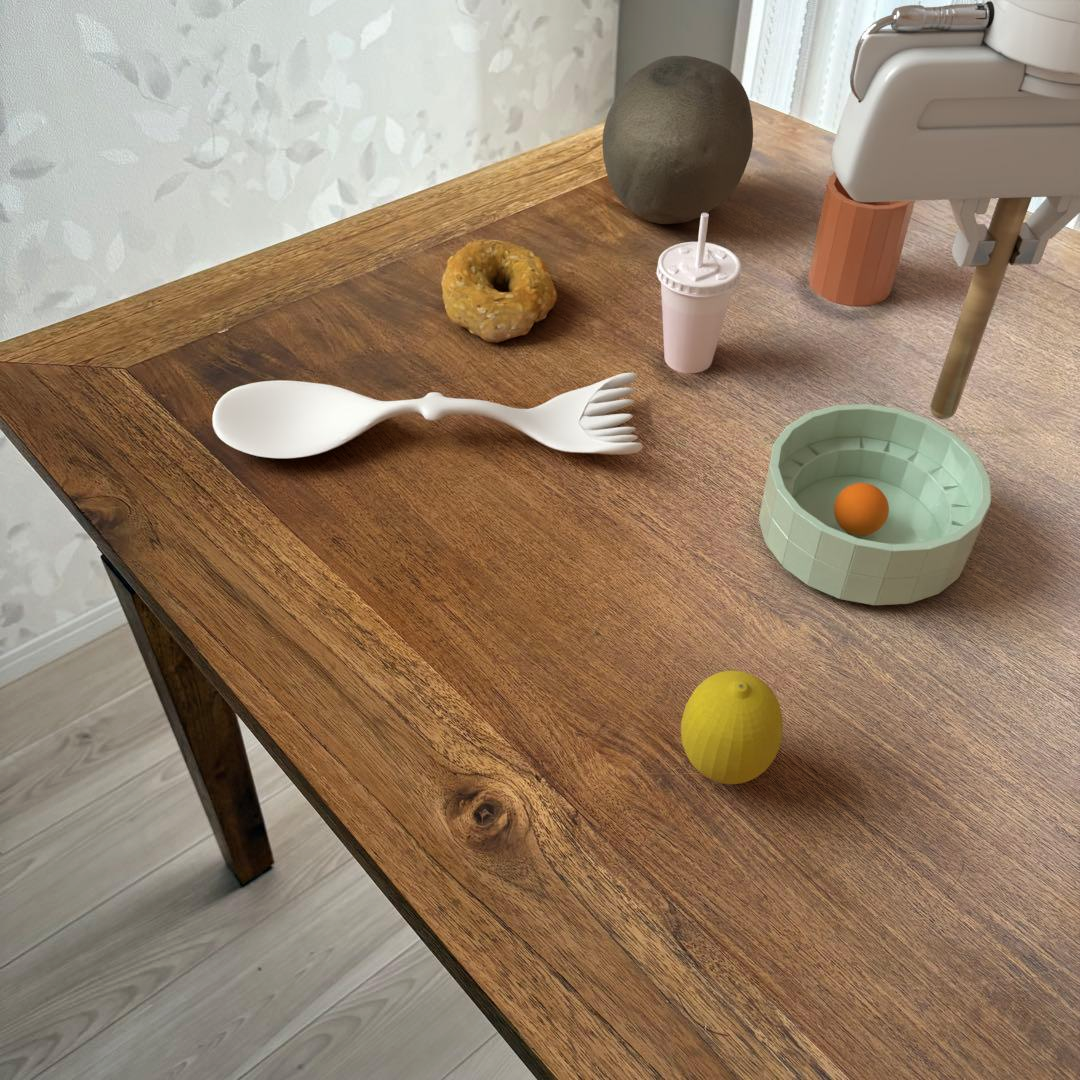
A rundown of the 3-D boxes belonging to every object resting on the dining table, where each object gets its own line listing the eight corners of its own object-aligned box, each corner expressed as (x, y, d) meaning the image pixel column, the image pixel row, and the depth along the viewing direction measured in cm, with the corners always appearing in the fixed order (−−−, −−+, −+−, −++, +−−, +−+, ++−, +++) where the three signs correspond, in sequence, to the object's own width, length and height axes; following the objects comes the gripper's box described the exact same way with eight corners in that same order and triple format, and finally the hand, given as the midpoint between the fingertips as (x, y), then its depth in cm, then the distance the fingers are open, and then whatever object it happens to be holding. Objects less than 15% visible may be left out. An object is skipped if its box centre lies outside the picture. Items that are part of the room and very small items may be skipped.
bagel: (440, 348, 93) (436, 300, 89) (445, 275, 100) (442, 228, 97) (559, 347, 93) (559, 298, 89) (555, 274, 100) (555, 226, 97)
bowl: (928, 462, 83) (950, 399, 78) (995, 607, 73) (1024, 544, 69) (740, 471, 82) (751, 408, 78) (782, 618, 72) (797, 555, 68)
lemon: (655, 767, 65) (667, 685, 59) (716, 712, 67) (732, 628, 61) (730, 828, 62) (750, 748, 56) (790, 768, 64) (814, 686, 59)
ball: (874, 508, 78) (885, 470, 76) (888, 545, 76) (900, 507, 73) (823, 510, 78) (833, 473, 76) (836, 547, 76) (847, 510, 73)
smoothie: (641, 383, 89) (655, 227, 79) (655, 338, 94) (669, 184, 84) (721, 395, 88) (744, 239, 78) (731, 348, 93) (754, 194, 83)
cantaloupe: (566, 214, 108) (569, 59, 97) (670, 169, 114) (684, 18, 103) (669, 277, 100) (685, 116, 89) (774, 224, 106) (801, 68, 96)
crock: (876, 266, 101) (902, 163, 94) (899, 312, 96) (928, 207, 89) (798, 269, 101) (818, 166, 94) (817, 315, 96) (840, 210, 89)
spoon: (640, 478, 82) (643, 443, 79) (206, 473, 82) (196, 437, 79) (635, 401, 88) (638, 366, 85) (232, 396, 88) (223, 361, 86)
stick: (948, 408, 71) (1055, 100, 56) (956, 424, 70) (1067, 115, 55) (923, 409, 71) (1024, 101, 56) (931, 425, 70) (1036, 116, 55)
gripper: (883, 34, 49) (824, 298, 59) (1326, 24, 50) (1195, 286, 60) (847, -19, 54) (797, 236, 64) (1255, -27, 55) (1144, 225, 65)
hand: (994, 260), depth 62 cm, fingers closed on stick, 1 cm apart
